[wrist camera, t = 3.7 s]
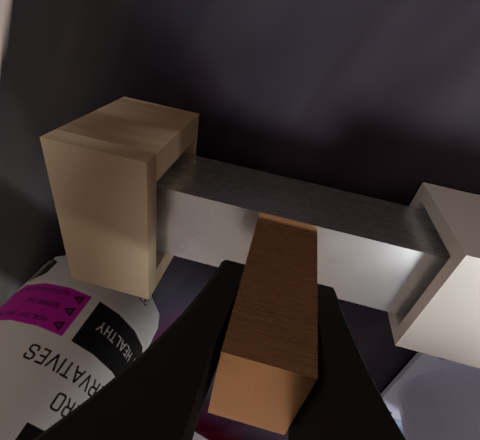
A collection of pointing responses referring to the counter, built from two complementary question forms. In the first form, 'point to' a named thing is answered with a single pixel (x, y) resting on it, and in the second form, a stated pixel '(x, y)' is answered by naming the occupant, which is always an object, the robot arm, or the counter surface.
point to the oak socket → (115, 189)
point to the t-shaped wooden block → (288, 270)
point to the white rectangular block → (447, 282)
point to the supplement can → (64, 346)
